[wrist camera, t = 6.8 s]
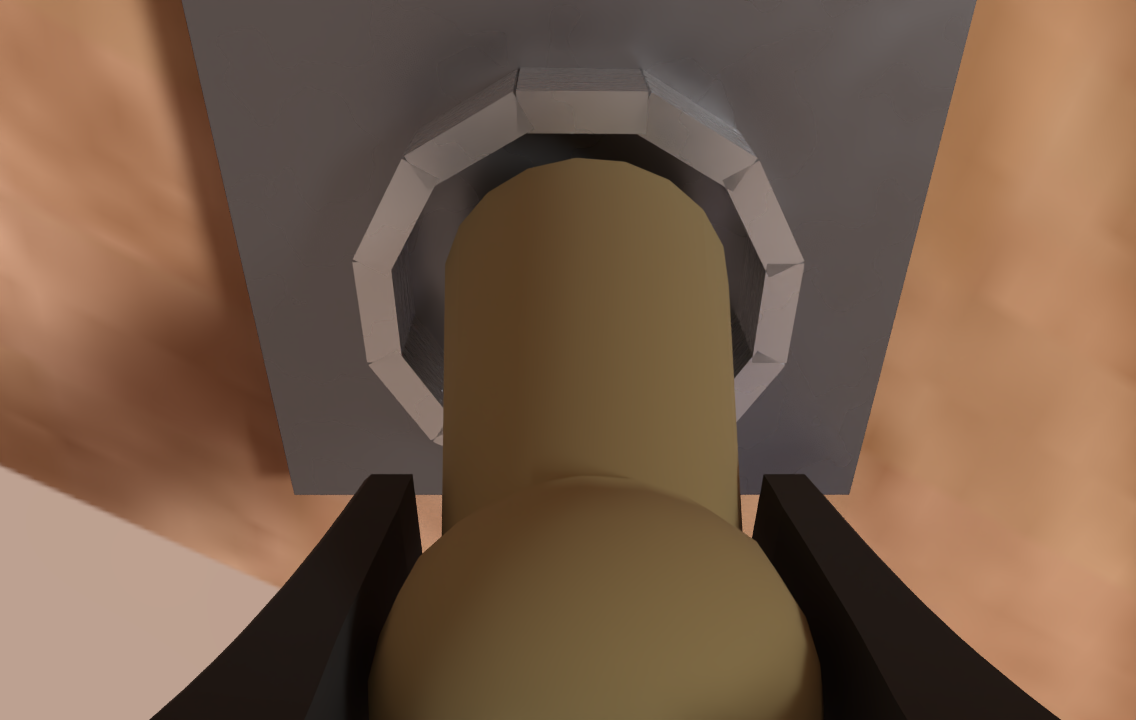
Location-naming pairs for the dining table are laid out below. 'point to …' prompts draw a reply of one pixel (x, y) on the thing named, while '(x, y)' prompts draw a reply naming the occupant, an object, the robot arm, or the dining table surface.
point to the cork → (591, 477)
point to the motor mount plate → (556, 133)
